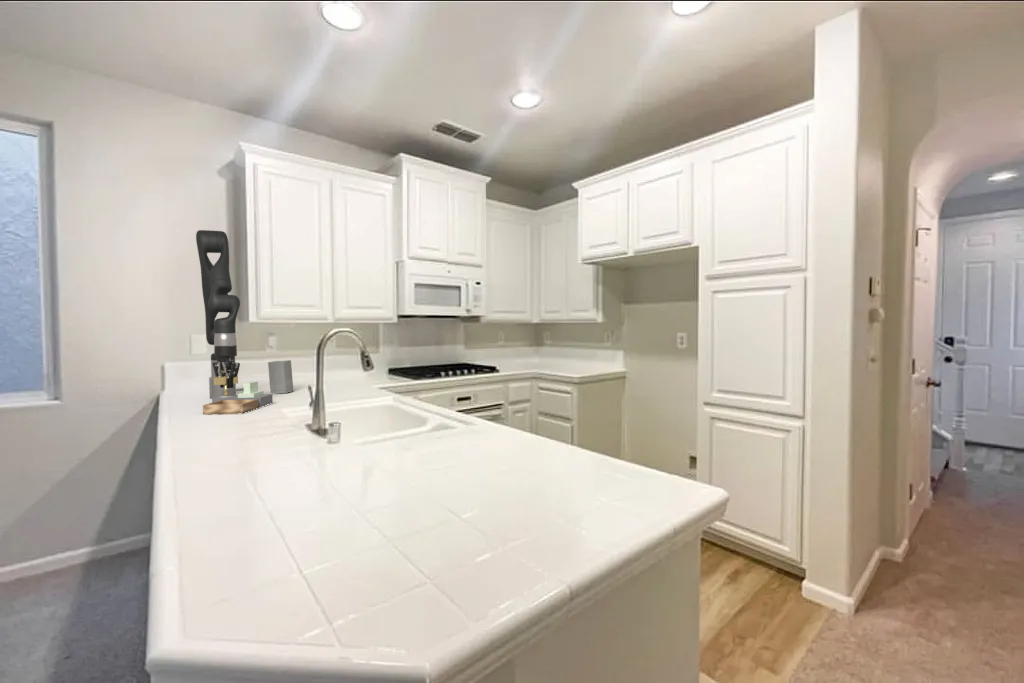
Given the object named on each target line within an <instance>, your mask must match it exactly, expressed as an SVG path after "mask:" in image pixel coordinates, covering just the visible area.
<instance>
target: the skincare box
mask: <svg viewBox="0 0 1024 683" xmlns="http://www.w3.org/2000/svg"><path fill="white" fill-rule="evenodd" d="M267 365H268V368H267V369H268V377H269V389H270V394H271V393H279V394H289V393H293V392H294V380H293V372H292V370H293V369H292V360H273V361H268V362H267ZM292 391H293V392H292ZM288 392H289V393H288Z"/></svg>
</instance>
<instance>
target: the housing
mask: <svg viewBox="0 0 1024 683" xmlns="http://www.w3.org/2000/svg"><path fill="white" fill-rule="evenodd" d="M252 399H258V402H259V407H262V406H264V407H266V406H265V405H267V404H270V403H273V402H274V401H273V394H271V393H264V395H260V396H257V397H248V398H238V394H236V395H228V396H220V397H217V398H211V403H213V402H217V401H220V400H252ZM270 405H271V404H270ZM267 406H268V405H267ZM262 408H263V407H262Z"/></svg>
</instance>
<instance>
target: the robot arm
mask: <svg viewBox="0 0 1024 683" xmlns="http://www.w3.org/2000/svg"><path fill="white" fill-rule="evenodd" d="M195 241H196V248H197V253H198V258H199V259H198V260H199V265H200V277H201V289H202V290H201V291H202V298H203V305H204V306H203V307H204V312H205V314H204V316H205V337H206V342H207V343H208V345H210V346H214V349H213V353H211V355H210V370H211V371H210V372H211V373H210V374H211V375H210V377H208V385H209V388H208V389H209V392H208V393H209V399H213V398H217V397H220V396H224V385H213V377H223V376H226V377H227V388H228V389H237V388H236V386H237V385H236V384H233V378H234V377H237V376H238V374H239V371H240V366H241V363H240V362H236V357H237V356H238V346H237V341H238V340H237V332H236V329H237V328H236V323H237V322H236V320H237V318H238V317H237V316H238V312H239V310H240V307H241V300H240V298H239V297H238V296H237V295H235V294H229V293H231V291H232V290H233V286H232V280H231V273H230V247H229V239H228V235H227V233H226V232H225V231H223V230H211V229H210V230H207V229H202V230H201V229H198V230H197V231H196V234H195ZM208 253H209V254H219V255H220V256H219V257H218V259H217V261H216V262H215V263H214V264H213V263H212V261H211V260H210V257H209V256H208ZM219 313H229V314H228V315H227V316H226V317H220V318H217V316H218V314H219ZM229 395H237V391H233V392H229Z"/></svg>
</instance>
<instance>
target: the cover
mask: <svg viewBox="0 0 1024 683" xmlns="http://www.w3.org/2000/svg"><path fill="white" fill-rule="evenodd" d="M258 387H259V386H258V381H248V382H244V383H243V388H244V391H242V392H240V393H237V395H238V398H248V397H257V396H260V395H264V394H265V393H264V392H265V391H264V390H259V388H258Z"/></svg>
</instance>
